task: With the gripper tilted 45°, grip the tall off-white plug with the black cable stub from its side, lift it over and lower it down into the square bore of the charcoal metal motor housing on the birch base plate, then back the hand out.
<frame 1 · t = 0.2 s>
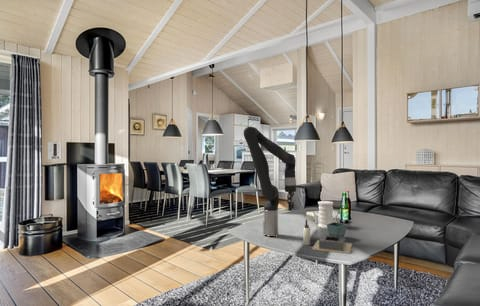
hand: (291, 209, 194), 18 cm above the table, tool pointing down, fingers open, 8 cm apart
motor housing: (332, 247, 172), on the table
flower pot: (336, 238, 191), on the table
plug: (306, 244, 180), on the table
decorative container: (326, 226, 222), on the table
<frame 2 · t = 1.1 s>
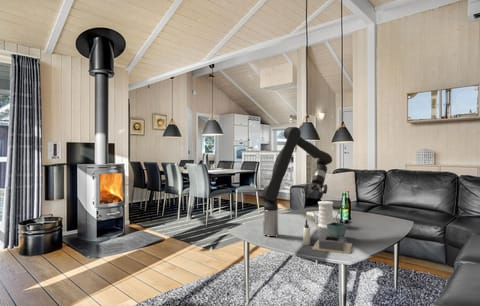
hand: (313, 197, 191), 26 cm above the table, tool tilted 45°, fingers open, 8 cm apart
nothing on the table moved.
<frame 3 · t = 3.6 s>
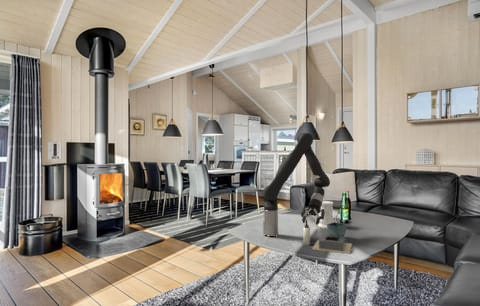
hand: (310, 223, 184), 11 cm above the table, tool tilted 45°, fingers open, 8 cm apart
nothing on the table moved.
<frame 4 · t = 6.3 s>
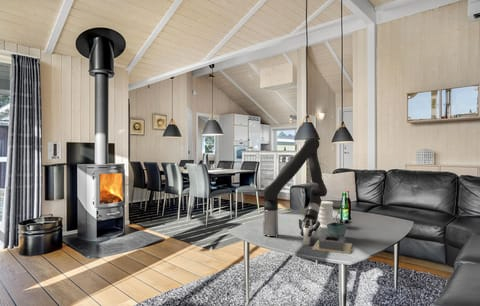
hand: (305, 235, 178), 6 cm above the table, tool tilted 45°, fingers closed on plug, 4 cm apart
plug: (306, 244, 180), on the table, touching gripper
everything else where it was.
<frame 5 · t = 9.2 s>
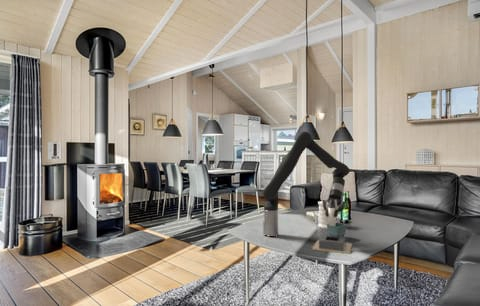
hand: (330, 216, 171), 18 cm above the table, tool tilted 45°, fingers closed on plug, 4 cm apart
plug: (332, 225, 173), point 13 cm above the table, touching gripper
everything else where it was.
when the fingers open (8 cm above the table, at t = 12.4 s): plug drops 1 cm, resting on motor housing.
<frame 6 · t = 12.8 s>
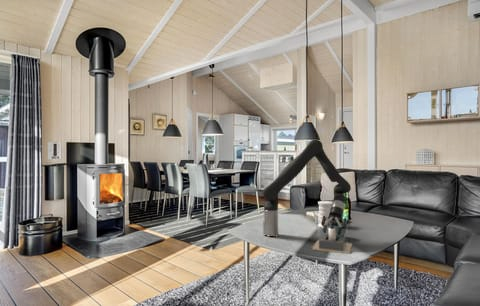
hand: (331, 233, 171), 9 cm above the table, tool tilted 45°, fingers open, 7 cm apart
plug: (332, 245, 173), point 1 cm above the table, touching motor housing
everything else where it was.
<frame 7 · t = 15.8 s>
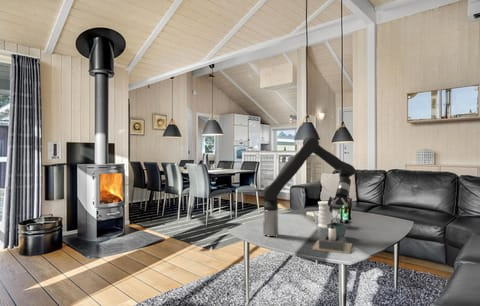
hand: (337, 212, 182), 18 cm above the table, tool tilted 45°, fingers open, 8 cm apart
nothing on the table moved.
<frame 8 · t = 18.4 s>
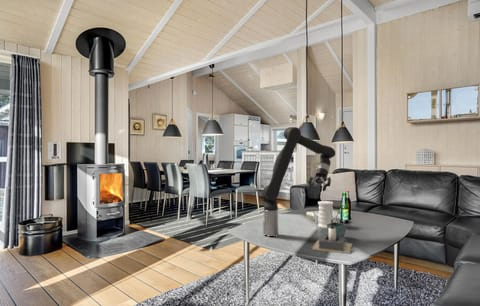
hand: (316, 190, 192), 31 cm above the table, tool tilted 45°, fingers open, 8 cm apart
nothing on the table moved.
at the end: plug 0.1 cm off-centre on the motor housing, point 1.0 cm above the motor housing's base; plug tilted 0°; the gripper is holding nothing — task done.
